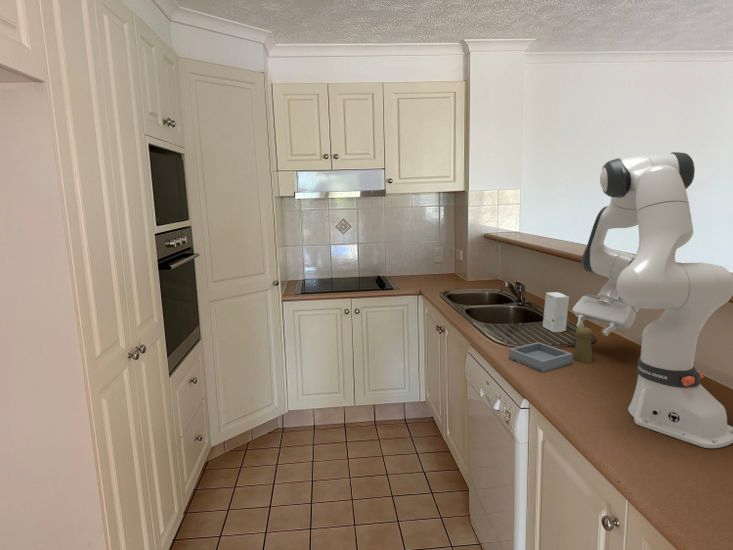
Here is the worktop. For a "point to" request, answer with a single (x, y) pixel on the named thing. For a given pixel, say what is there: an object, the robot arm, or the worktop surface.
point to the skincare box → (555, 311)
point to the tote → (541, 356)
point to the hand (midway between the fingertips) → (591, 330)
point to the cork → (583, 345)
